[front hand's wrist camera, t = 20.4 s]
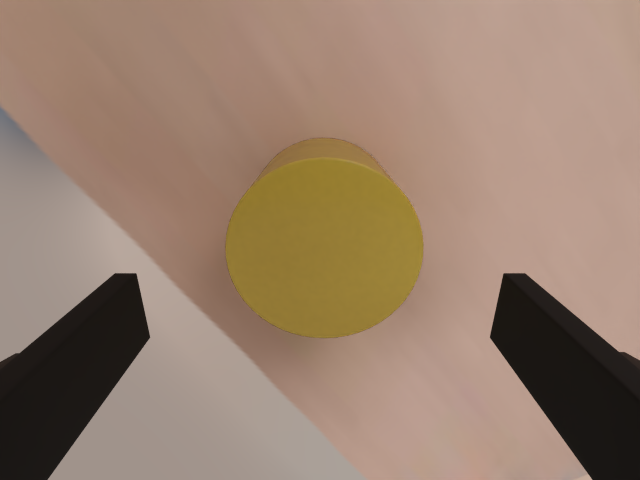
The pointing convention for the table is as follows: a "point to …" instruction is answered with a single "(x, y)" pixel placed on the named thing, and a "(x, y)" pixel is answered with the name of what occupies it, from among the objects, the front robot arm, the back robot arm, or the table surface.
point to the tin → (324, 241)
